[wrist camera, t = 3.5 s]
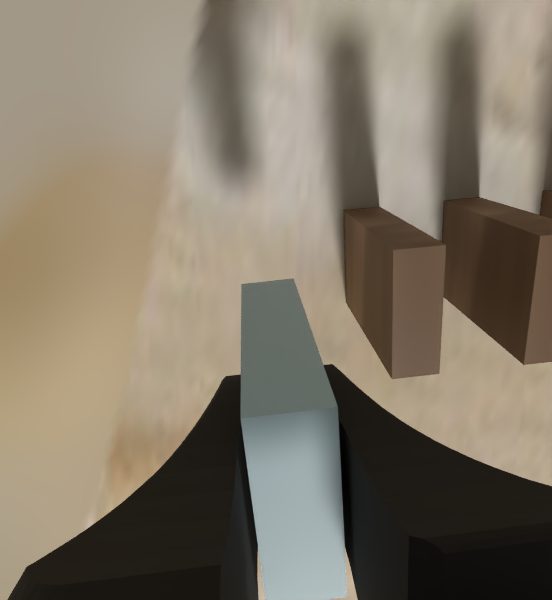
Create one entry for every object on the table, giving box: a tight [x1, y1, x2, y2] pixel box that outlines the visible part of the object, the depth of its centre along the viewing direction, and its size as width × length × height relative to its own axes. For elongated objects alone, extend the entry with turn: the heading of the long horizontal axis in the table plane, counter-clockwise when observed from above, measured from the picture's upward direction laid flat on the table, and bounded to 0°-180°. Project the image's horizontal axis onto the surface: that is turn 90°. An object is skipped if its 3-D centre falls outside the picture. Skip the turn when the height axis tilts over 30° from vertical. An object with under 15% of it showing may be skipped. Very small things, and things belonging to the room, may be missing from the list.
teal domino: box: [241, 279, 347, 600], centre depth 12 cm, size 2×4×7 cm, turn 5°
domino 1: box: [344, 207, 446, 379], centre depth 18 cm, size 2×4×7 cm, turn 5°
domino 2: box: [442, 197, 552, 365], centre depth 18 cm, size 2×4×7 cm, turn 5°
